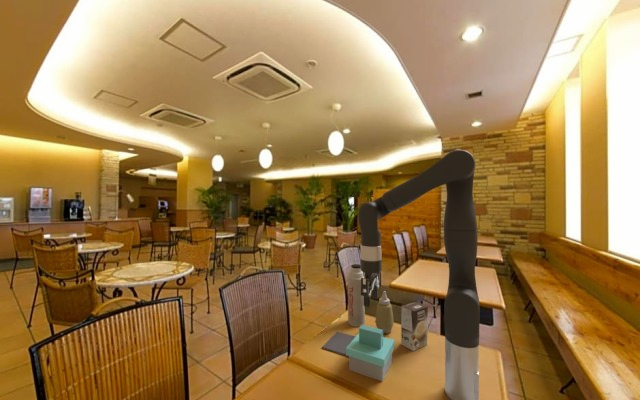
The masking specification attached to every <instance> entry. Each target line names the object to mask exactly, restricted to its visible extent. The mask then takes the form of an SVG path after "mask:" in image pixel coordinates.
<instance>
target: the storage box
mask: <svg viewBox="0 0 640 400" xmlns="http://www.w3.org/2000/svg"><path fill="white" fill-rule="evenodd" d="M348 358H349V359H348V361H349V362H348V370H349V371H351V372H353V373H356V374H360V375H362V376H366V377H368V378H371V379H374V380H377V381H381V382H383V381H384V379H385V377H386V375H387V373H388V371H389V369H390V367H391V365H392V362H393V352H392V353H391V355H390V357H389V359H388V361H387V363H386V365H385V367H382V366H379V365H375V364H372V363H369V362H366V361H363V360H360V359H356V358H353V357H350V356H349V357H348Z"/></svg>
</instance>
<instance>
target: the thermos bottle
mask: <svg viewBox="0 0 640 400" xmlns="http://www.w3.org/2000/svg"><path fill="white" fill-rule="evenodd" d="M350 267H351V270H350V271H349V274H348V276H347V298H348V299H347V301H348V302H347V313H348V315H347V321H348V322H347V323H348V325H350V326H351V327H359V328H360V326H361V325H366V324H365V323H366V310H365V308H366V307H365V306H364V296H361V278H364V276H365V275H364V272H363V271H361V269H360V264H359V263H358V264H357V263H356V264H351V265H350ZM363 290H364V289H363Z"/></svg>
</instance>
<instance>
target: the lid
mask: <svg viewBox="0 0 640 400" xmlns="http://www.w3.org/2000/svg"><path fill="white" fill-rule="evenodd" d="M355 336H356V337H355V338H354V339H353V340H352V342H351V343H350V344H349V345H348V347H347V348H346V355H347V356H346V357H348V356H350V357H353V358H356V359H360V360H363V361H366V362H369V363H372V364H375V365H379V366H382V367H385V365H386V363H387V361H388V359H389V357H390V355H391V353H392V354H393V351H394V349H395V347H396V343H395V342H396V340H395V339H392V338H389V337H386V336H385V337H384V333H383V330H382V329H378V328H377V327H374V326H373V327H372V326H369V325H366V324H364V325H361V326H359V328H358V333H357V334H356V335H355Z"/></svg>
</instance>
